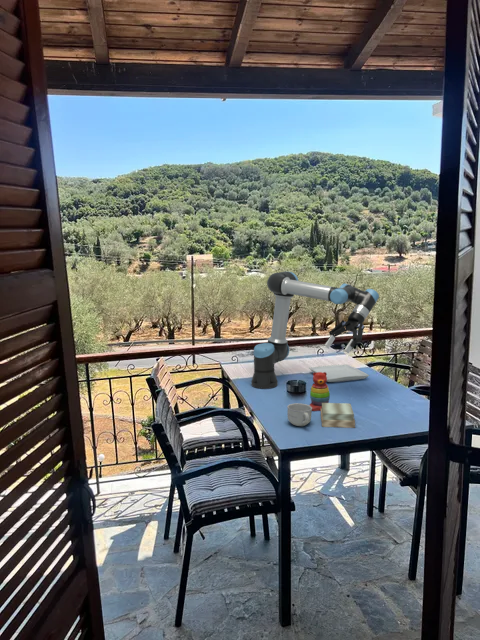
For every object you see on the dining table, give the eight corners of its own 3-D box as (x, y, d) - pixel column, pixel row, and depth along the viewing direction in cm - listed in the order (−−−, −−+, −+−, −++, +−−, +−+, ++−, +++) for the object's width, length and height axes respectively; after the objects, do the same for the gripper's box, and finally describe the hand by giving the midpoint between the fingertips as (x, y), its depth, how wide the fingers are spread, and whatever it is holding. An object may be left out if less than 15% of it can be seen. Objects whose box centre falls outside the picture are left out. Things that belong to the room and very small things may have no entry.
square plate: (369, 381, 250) (370, 374, 249) (326, 385, 244) (326, 379, 243) (347, 368, 276) (347, 363, 275) (308, 372, 270) (308, 366, 269)
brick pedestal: (322, 426, 186) (322, 413, 185) (320, 414, 200) (320, 402, 199) (354, 427, 184) (355, 414, 183) (351, 415, 198) (351, 403, 197)
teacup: (285, 419, 195) (285, 402, 194) (308, 418, 196) (308, 401, 195) (291, 432, 182) (291, 414, 180) (316, 430, 183) (316, 413, 181)
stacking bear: (308, 411, 205) (308, 375, 202) (308, 403, 215) (308, 369, 212) (331, 412, 203) (331, 375, 200) (330, 404, 213) (331, 369, 210)
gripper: (381, 323, 207) (359, 358, 201) (343, 317, 228) (322, 349, 222) (374, 313, 203) (351, 348, 198) (336, 308, 224) (315, 340, 219)
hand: (336, 349), depth 210 cm, fingers open, 13 cm apart
